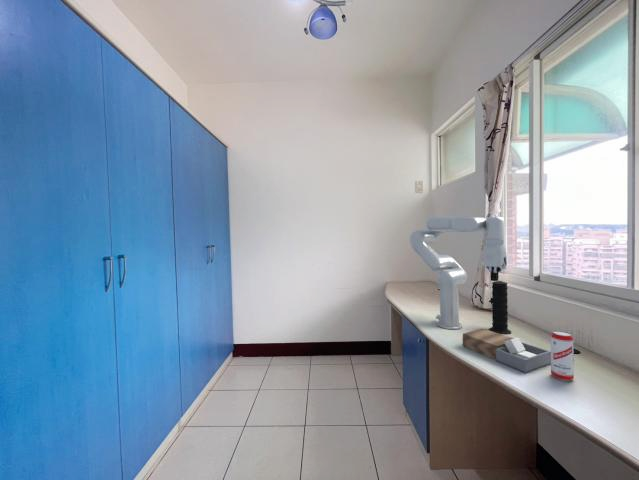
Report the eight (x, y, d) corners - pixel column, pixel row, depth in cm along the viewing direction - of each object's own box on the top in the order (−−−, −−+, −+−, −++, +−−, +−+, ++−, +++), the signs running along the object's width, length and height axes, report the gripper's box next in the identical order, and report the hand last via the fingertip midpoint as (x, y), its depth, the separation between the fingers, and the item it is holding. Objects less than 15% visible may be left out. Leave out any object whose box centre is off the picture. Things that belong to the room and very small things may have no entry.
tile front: (529, 357, 109) (529, 366, 109) (537, 355, 111) (537, 363, 111) (516, 352, 114) (516, 361, 114) (523, 350, 116) (523, 358, 116)
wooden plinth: (462, 346, 131) (462, 333, 131) (483, 341, 137) (483, 328, 136) (497, 360, 116) (496, 345, 116) (518, 353, 122) (518, 339, 122)
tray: (496, 361, 116) (495, 349, 115) (520, 353, 122) (520, 341, 122) (525, 373, 105) (525, 360, 105) (550, 364, 112) (550, 351, 112)
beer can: (575, 383, 98) (575, 337, 97) (552, 379, 101) (552, 334, 100) (571, 375, 103) (571, 331, 102) (549, 371, 106) (549, 329, 106)
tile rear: (503, 341, 118) (510, 339, 116) (511, 339, 120) (518, 337, 118) (510, 354, 116) (518, 352, 113) (518, 351, 118) (525, 349, 115)
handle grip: (493, 333, 146) (515, 334, 144) (492, 282, 145) (514, 282, 143) (486, 327, 155) (506, 328, 153) (485, 279, 155) (506, 279, 153)
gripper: (475, 242, 142) (475, 279, 143) (504, 243, 129) (504, 284, 129) (485, 241, 145) (485, 277, 146) (515, 242, 132) (515, 282, 132)
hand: (494, 280), depth 138 cm, fingers closed
